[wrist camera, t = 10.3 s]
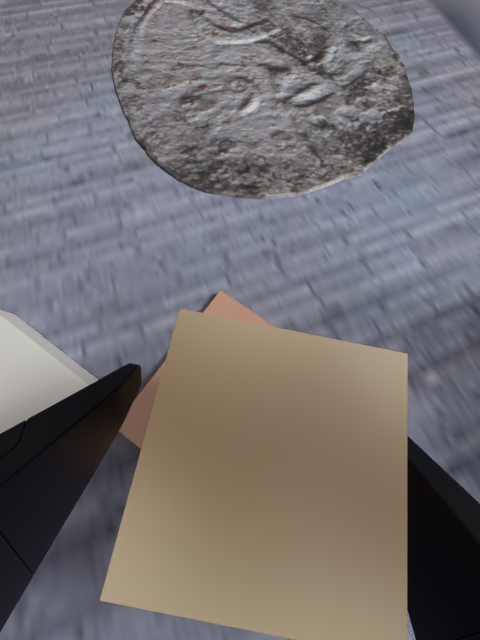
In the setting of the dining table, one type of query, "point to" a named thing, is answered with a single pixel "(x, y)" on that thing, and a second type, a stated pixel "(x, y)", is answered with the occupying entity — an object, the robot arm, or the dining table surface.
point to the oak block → (270, 486)
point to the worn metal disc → (259, 93)
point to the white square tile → (33, 372)
